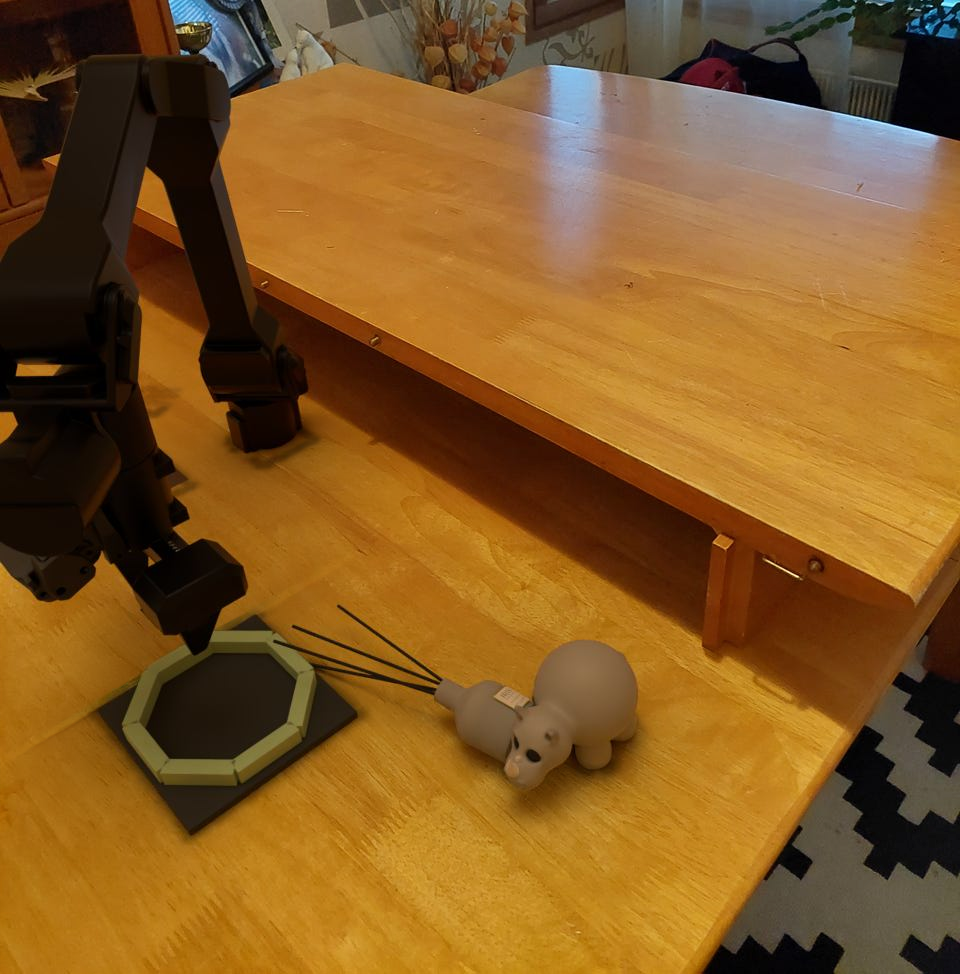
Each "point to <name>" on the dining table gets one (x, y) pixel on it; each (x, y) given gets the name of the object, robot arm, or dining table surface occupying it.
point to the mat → (226, 723)
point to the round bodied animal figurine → (573, 712)
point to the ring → (251, 758)
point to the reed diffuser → (448, 697)
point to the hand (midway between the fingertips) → (168, 618)
